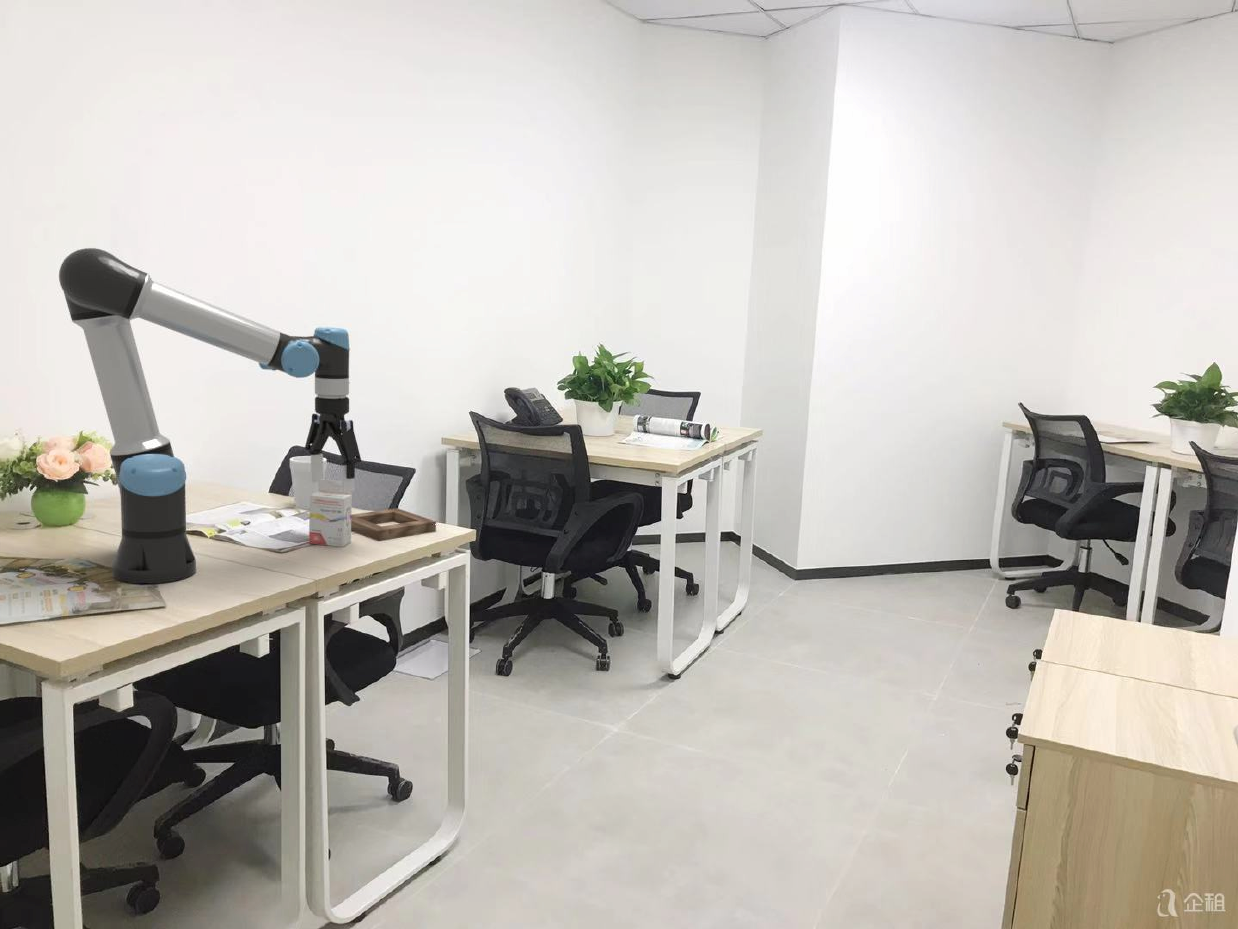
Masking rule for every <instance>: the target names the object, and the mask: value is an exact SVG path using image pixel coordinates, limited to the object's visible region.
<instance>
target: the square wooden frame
mask: <svg viewBox="0 0 1238 929" xmlns="http://www.w3.org/2000/svg"><path fill="white" fill-rule="evenodd" d="M391 522H395V524H391V525H389V524H388V525H382V526H381V525H379V524H384V523H385V524H386V523H391ZM435 524H436V525H435ZM351 532H354V533H356V534H359V535H362V536H364V537H366V538H369V539H372V540H374V541H377V542H381V541H385V540H391V539H392V540H393V539H397V538H403V537H404V538H405V537H408V536H416V535H422V534H427V533H432V532H434V533H435V532H437V521H436V520H432V519H429V518H426V517H425V516H421V515H419V514H416V513H412V512H410V511H407V510H404V509H400V508H397V507H395V508H389V509H388V508H387V509H382V510H376V511H375V510H374V511H369V512H360V513H353V514H351ZM415 534H416V535H415Z"/></svg>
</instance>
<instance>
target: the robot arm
mask: <svg viewBox="0 0 1238 929" xmlns="http://www.w3.org/2000/svg"><path fill="white" fill-rule="evenodd" d="M58 280H59V284H60V287H61V290H62V291H63V294H64V297H65V298H64V299H65V302H66V305H67V308H68V312H69V315H70V320H71V322H72V323H73V324H75V325H77V326H79V327H80V328H81V329H82V330H83V333H84V334H83V335H84V337H85V339H86V340H85V341H86V344H87V348H88V351H89V352H88V353H89V355H90V360H91V362H92V366H93V369H94V372H95V375H96V378H97V379H96V380H97V383H98V387H99V390H100V394H101V398H102V402H103V404H104V407H105V410H106V411H105V412H106V415H107V418H108V422H109V425H110V430H111V431H112V436H113V440H114V444H113V446H112V447H111V449H110V451H109V455H110V459H111V463H112V467H113V470H114V473H115V477H116V483H117V486H118V488H119V494H120V515H121V517H120V518H121V519H120V520H121V522H120V523H121V540H120V541H119V546H118V548H117V551H116V554H115V557H114V561H113V564H112V577H113V578H114V579H116V580H118V581H120V582H124V583H129V582H131V584H140V583H150V584H161V583H163V584H164V583H170V582H176V581H178V580H179V581H180V580H183V579H187V578H189V577H190V576H192V575H193V574H195V573H196V572H197V561H196V556H195V554H194V551H193V549H192V547H191V544H190V542H189V541H190V540H189V538H188V536H187V515H186V514H187V510H186V509H187V506H186V504H187V502H186V480H187V472H186V468H185V464H184V463H183V461H182V460H181V459H180V458H178V457H176V456H175V455H174V451H173V447H172V444H171V440H170V439H169V438H168V437H166V436H164V435H162V433H160V430H159V425H158V421H157V418H156V414H155V411H154V407H153V404H152V399H151V395H150V392H149V389H148V385H147V380H146V377H145V373H144V369H143V365H142V362H141V358H140V355H139V351H138V350H139V349H138V346H137V344H136V339H135V335H134V332H133V328H132V324H131V321H132V320H135V319H141V320H144V321H147V322H150V323H152V324H155V325H158V326H160V327H163V328H166V329H168V330H172V331H174V332H175V333H180V334H182V335H184V336H186V337H189V338H193V339H195V340H197V341H201V342H202V343H206V344H209V345H211V346H214V347H217V348H219V349H222V350H224V351H227V352H230V353H232V354H235V355H238V356H241V357H243V358H246V359H248V360H251V361H254V362H256V363H258V366H259V367H260V369H262V370H266V371H267V370H269V371H279V372H282V373H285V374H287V375H289V376H290V377H293V378H297V379H301V378H307V377H309V376H312V375H313V374H314V394H315V395H316V396H315V398H314V412H315V413H312V414H311V423H310V427H309V432H308V434H307V439H306V442H305V446H304V449H305V451H308V453H309V455H310V456H311V482H312V483H314V482H318V480H319V479H323V458H324V454H323V453H324V450H323V449H324V447H325V445H326V443H327V441H328V440H329V438H332V440H333V441H334V442H335V443H336V445H337V448H338V450H339V452H340V455H341V458H342V460H343V462H342V463H341V481H342V493H349V492H351V493H354V492H355V477H356V470H355V469H356V465H357V464H359V463H361V462H362V457H361V454H360V448H359V445H358V442H357V438H356V434H355V431H354V428H355V427H354V421H353V420H352V419H351V420H350V419H348V420H346V419H345V415H348V413H349V412H350V398H349V397H348V396H349V395H350V351H351V348H350V337H349V332H348V330H347V329H345V328H341V327H316V328H315V329H314V331H313V332H314V333H313V335H311V336H308V335H307V336H296V335H288V334H286V333H283V332H281V331H279V330H276V329H275V328H271V327H269V326H267V325H264V324H261V323H258V322H256V321H254V320H252V319H248V318H247V317H244V316H241V315H239V314H236V313H234V312H231V311H228V310H226V309H223V308H222V307H218V306H216V305H213V304H211V303H208V302H207V301H204V300H201V299H198V298H196V297H193V296H191V295H188V294H186V293H184V292H182V291H179V290H176V289H174V288H171V287H168V286H167V285H164V284H162V283H158V282H157V281H153V279H152V278H151V275H150V274H149V273H148V272H145V271H142V270H141V269H138V268H136V267H134V266H131V265H130V264H128V263H126V262H124V261H122V260H121V259H119V258H118V257H117V256H115V255H114V254H112V253H111V252H108V251H106V250H104V249H100V248H96V247H93V248H91V247H88V248H87V247H86V248H81V249H77V250H75V251H73V252H71V253H70V254H68V256H66V257H65V258H64V260H63V261H62V263H61V265H60V268H59V272H58ZM193 576H194V575H193Z"/></svg>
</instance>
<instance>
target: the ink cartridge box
mask: <svg viewBox="0 0 1238 929" xmlns="http://www.w3.org/2000/svg"><path fill="white" fill-rule="evenodd" d="M318 485H319V491H318V492H316V493H314V494H312V495H310V509H309V526H308V527H309V528H308V531H309V534H308V542H309V544H310V545H311V544H313V545H321V546H330V547H331V546H332V547H339V548H344V547H345V546H346V545H348V544H350V543H351V541H352V531H351V515H352V510H353V508H352V505H353V504H352V502H353V500H352V499H353V495H352V492H349V493H342V480H333V479H325V478H324V479H319V480H318ZM331 485H332V486H334V485H336V486H338V487H331Z"/></svg>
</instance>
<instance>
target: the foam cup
mask: <svg viewBox="0 0 1238 929" xmlns="http://www.w3.org/2000/svg"><path fill="white" fill-rule="evenodd" d="M327 463H328V459H327V458H326V457H323V479H324V480H325V477H326V469H327V468H328V467H327ZM289 469H290V475H291V481H292V490H293V495H294V502H295V503H294V504H295V508H296V509H301V510H310V495H312V494H314V493H316V492H318V491H319V485H318V482H314V483H312V482H311V455H304V456H303V455H302V456H293V457H292V456H291V457H290V458H289Z"/></svg>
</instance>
